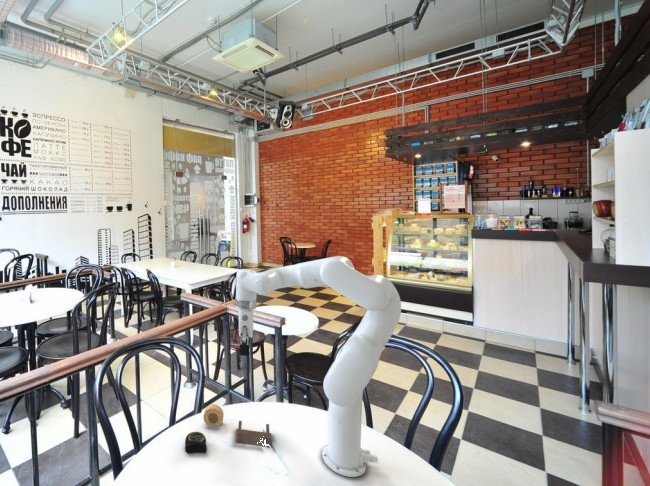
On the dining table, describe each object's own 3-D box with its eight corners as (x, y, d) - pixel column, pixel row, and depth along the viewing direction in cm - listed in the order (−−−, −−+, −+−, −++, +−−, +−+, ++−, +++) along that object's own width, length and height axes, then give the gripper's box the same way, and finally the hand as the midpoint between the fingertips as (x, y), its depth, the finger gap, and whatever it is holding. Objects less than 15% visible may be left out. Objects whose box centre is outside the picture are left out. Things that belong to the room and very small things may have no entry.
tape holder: (271, 435, 113) (271, 424, 113) (271, 450, 106) (272, 438, 106) (236, 431, 115) (236, 420, 115) (234, 445, 108) (235, 433, 108)
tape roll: (227, 417, 118) (216, 400, 119) (226, 422, 116) (215, 404, 116) (211, 427, 119) (200, 410, 120) (210, 431, 116) (199, 414, 117)
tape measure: (184, 457, 102) (184, 445, 102) (185, 441, 109) (185, 430, 109) (206, 457, 103) (206, 445, 103) (206, 441, 109) (206, 430, 109)
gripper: (255, 311, 112) (254, 361, 112) (256, 297, 129) (255, 341, 129) (234, 309, 113) (232, 359, 113) (237, 296, 130) (236, 339, 130)
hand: (244, 349), depth 121 cm, fingers open, 9 cm apart
